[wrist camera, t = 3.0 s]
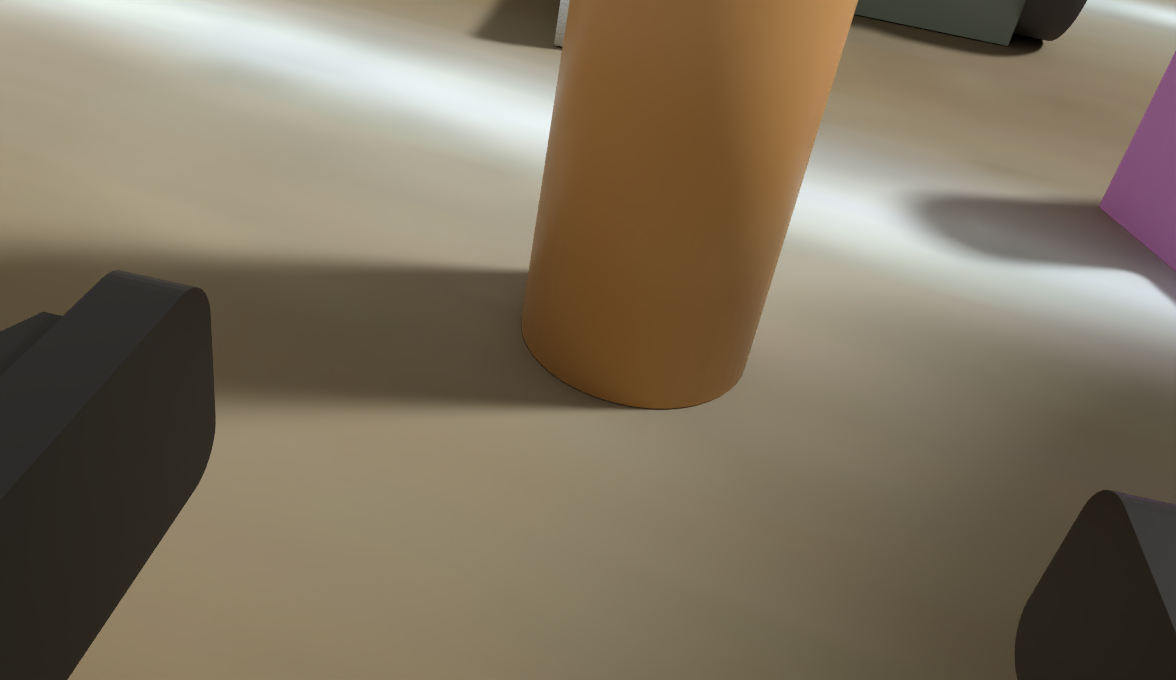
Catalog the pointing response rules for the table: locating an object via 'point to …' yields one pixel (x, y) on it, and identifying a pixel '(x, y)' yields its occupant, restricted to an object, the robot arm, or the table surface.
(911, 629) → the table surface
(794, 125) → the orange pill bottle
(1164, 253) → the bracket
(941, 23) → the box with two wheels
